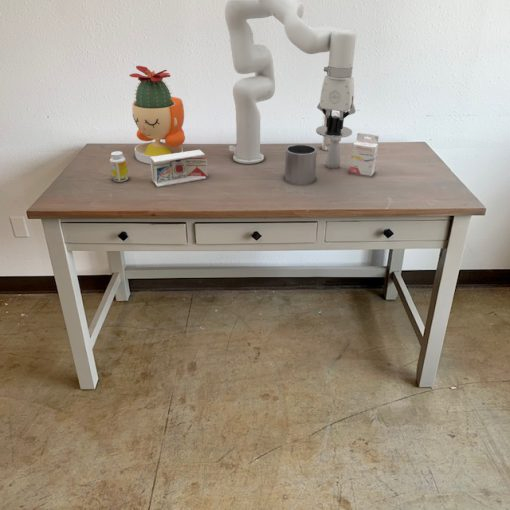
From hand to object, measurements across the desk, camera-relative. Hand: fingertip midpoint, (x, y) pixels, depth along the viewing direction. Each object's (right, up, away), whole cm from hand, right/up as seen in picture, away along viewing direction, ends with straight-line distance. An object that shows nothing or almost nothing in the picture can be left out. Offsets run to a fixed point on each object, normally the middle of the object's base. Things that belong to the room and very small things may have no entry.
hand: (334, 129), depth 161 cm
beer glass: (+5, +4, +48) cm, 48 cm away
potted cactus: (-65, 0, +40) cm, 76 cm away
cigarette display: (-54, -14, +17) cm, 58 cm away
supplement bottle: (-76, -14, +17) cm, 79 cm away
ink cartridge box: (+14, -11, +23) cm, 29 cm away
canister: (-10, -14, +18) cm, 24 cm away
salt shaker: (+4, -8, +28) cm, 29 cm away
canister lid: (0, -1, 0) cm, 1 cm away
